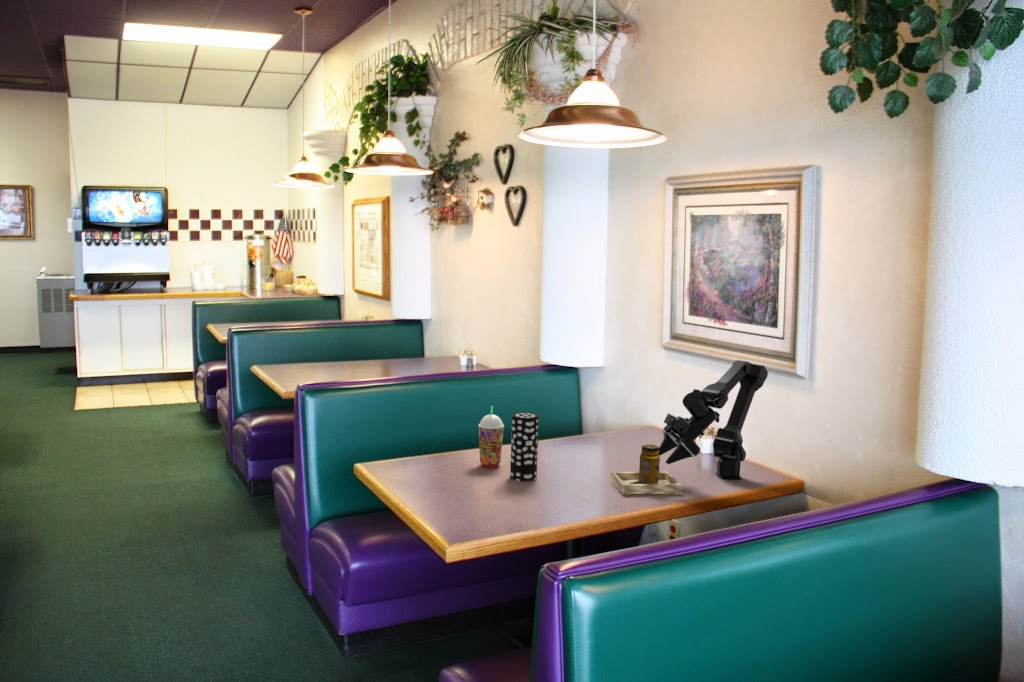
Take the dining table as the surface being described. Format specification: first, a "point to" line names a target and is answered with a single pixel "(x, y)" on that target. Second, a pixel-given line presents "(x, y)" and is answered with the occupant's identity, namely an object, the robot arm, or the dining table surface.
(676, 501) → the dining table surface
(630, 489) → the tray
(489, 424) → the smoothie
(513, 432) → the white-spotted black cylinder
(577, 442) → the dining table surface
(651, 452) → the condiment
